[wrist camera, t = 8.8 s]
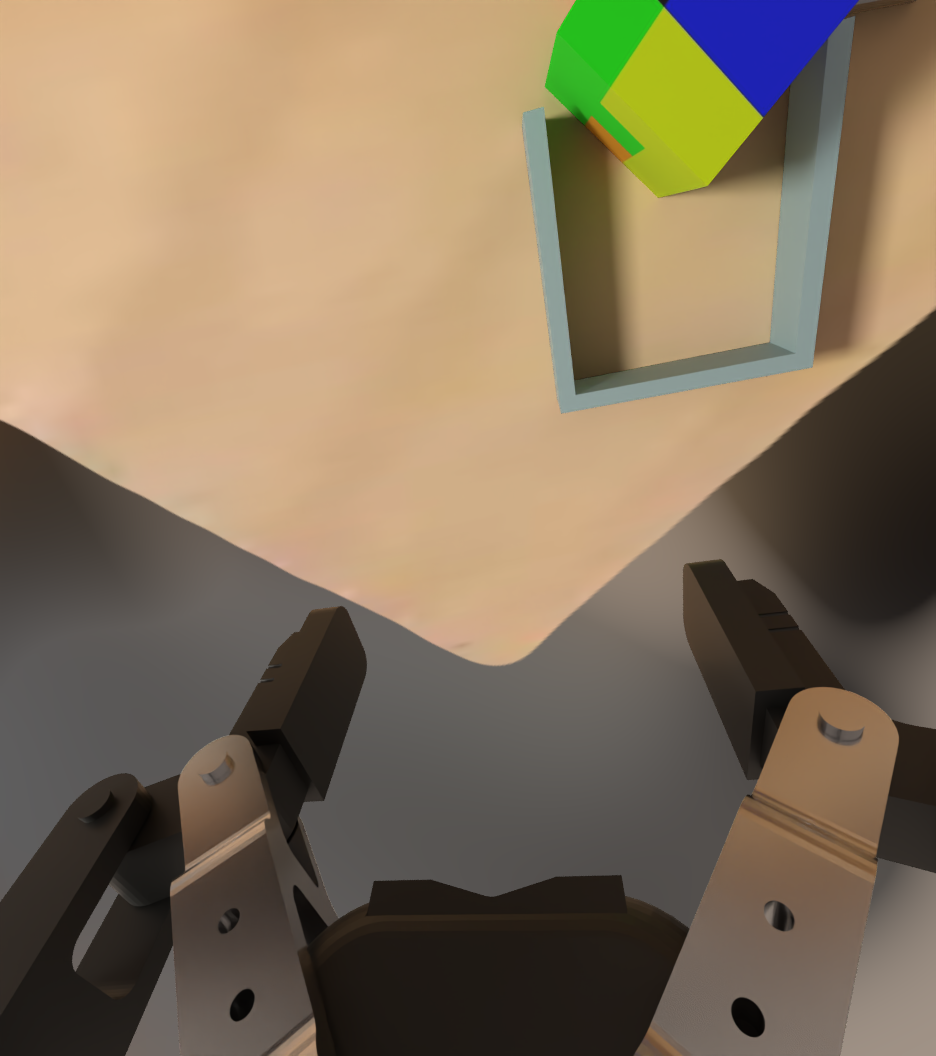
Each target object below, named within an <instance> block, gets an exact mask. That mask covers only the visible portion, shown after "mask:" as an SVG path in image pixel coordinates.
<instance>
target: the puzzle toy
mask: <svg viewBox="0 0 936 1056" xmlns="http://www.w3.org/2000/svg"><path fill="white" fill-rule="evenodd" d="M858 1H859V0H576V1H575V3H574V4H573V6H572V8H571V9H570V11H569V13H568V15H567V16H566V18H565V20H564V21H563V23H562V25H561V26H560V28H559V30H558V31H557V34H556V39H555V43H554V48H553V52H552V57H551V61H550V66H549V70H548V75H547V79H546V84H545V87H546V88H547V89H548V90H549V91H550V92H551V93H552V94H553V95H554V96H555V97H556V98H557V99H558V100H559V101H560V102H561V103H562V104H563V105H564V106H565V107H566V108H567V109H568V110H569V111H570V112H571V113H572V114H573V115H574V116H575V117H576V118H577V119H578V120H579V121H580V122H581V123H582V124H583V125H584V126H585V127H586V128H587V129H588V130H589V131H591V132H592V133H593V134H594V135H595V136H596V137H597V138H598V139H599V140H600V141H601V142H602V143H603V144H604V145H605V146H606V147H607V148H608V149H609V150H610V151H611V152H612V153H613V154H614V155H615V156H616V157H617V158H618V159H619V160H620V161H621V162H622V163H623V164H624V165H625V166H626V167H627V168H628V169H629V170H630V171H631V172H632V173H633V174H634V175H635V176H636V177H637V178H638V179H639V180H640V181H642V182H643V183H644V184H645V185H646V186H647V187H648V188H649V189H650V190H651V191H652V192H653V193H654V194H655V195H656V196H657V197H658V198H660V197H664V196H668V195H672V194H677V193H681V192H685V191H689V190H694V189H698V188H702V187H706V186H708V185H709V184H710V182H711V181H712V180H713V179H714V177H715V176H716V175H717V174H718V173H719V171H720V170H721V169H722V168H723V166H724V165H725V164H726V163H727V161H728V160H729V159H730V158H731V157H732V155H733V154H734V153H735V152H736V150H737V149H738V148H739V147H740V146H741V144H742V143H743V142H744V141H745V139H746V138H747V137H748V136H749V135H750V133H751V132H752V131H753V130H754V128H755V127H756V126H757V125H758V123H759V122H760V121H761V120H762V119H763V117H764V116H765V115H766V114H767V112H768V111H769V110H770V109H771V108H772V106H773V105H774V104H775V103H776V101H777V100H778V99H779V98H780V97H781V95H782V94H783V93H784V92H785V90H786V89H787V88H788V87H789V85H790V84H791V83H792V82H793V81H794V79H795V78H796V77H797V76H798V74H799V73H800V72H801V71H802V70H803V68H804V67H805V66H806V65H807V63H808V62H809V61H810V60H811V58H812V57H813V56H814V55H815V54H816V52H817V51H818V50H819V49H820V47H821V46H822V45H823V44H824V43H825V41H826V40H827V39H828V38H829V36H830V35H831V34H832V33H833V32H834V30H835V29H836V28H837V27H838V25H839V24H840V23H841V22H842V20H843V19H844V18H845V17H846V16H847V14H848V13H849V12H850V11H851V9H852V8H853V7H854V6H855V5H856V3H857V2H858Z"/></svg>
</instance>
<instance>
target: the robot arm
mask: <svg viewBox="0 0 936 1056" xmlns="http://www.w3.org/2000/svg"><path fill="white" fill-rule="evenodd" d="M683 619H684V627H685V632H686V636H687V640H688V643H689V646H690V648H691V650H692V653H693V655H694V657H695V660H696V662H697V664H698V667H699V669H700V671H701V674H702V676H703V678H704V681H705V683H706V685H707V688H708V690H709V692H710V695H711V697H712V699H713V702H714V704H715V706H716V709H717V711H718V713H719V716H720V718H721V720H722V723H723V725H724V727H725V730H726V732H727V734H728V737H729V739H730V741H731V744H732V746H733V749H734V751H735V753H736V755H737V758H738V760H739V763H740V765H741V767H742V769H743V772H744V774H745V777H746V778H747V780H754V779H758V782H757V784H756V787H755V789H754V791H753V793H752V795H751V796H750V795H747V796H746V797H745V798H744V800H743V802H742V804H741V806H740V808H739V810H738V813H737V815H736V817H735V820H734V822H733V825H732V827H731V830H730V832H729V834H728V837H727V839H726V842H725V844H724V847H723V849H722V852H721V854H720V857H719V859H718V862H717V864H716V866H715V869H714V871H713V874H712V876H711V878H710V881H709V883H708V886H707V888H706V891H705V893H704V896H703V898H702V900H701V903H700V905H699V908H698V910H697V913H696V915H695V917H694V920H693V922H692V925H691V927H690V929H689V928H688V927H687V926H685V925H684V924H682V923H681V922H680V921H678V920H677V919H676V918H674V917H673V916H671V915H669V914H668V913H666V912H664V911H662V910H661V909H659V908H657V907H655V906H653V905H650V904H648V903H646V902H643V901H641V900H638V899H634V898H631V897H627V896H625V894H624V888H623V882H622V876H621V875H612V876H572V877H570V876H569V877H554V878H551V879H549V880H545V881H542V882H539V883H536V884H533V885H530V886H527V887H524V888H521V889H517V890H514V891H511V892H508V893H505V894H502V895H499V896H495V897H488V896H484V895H480V894H477V893H473V892H470V891H467V890H463V889H460V888H457V887H453V886H450V885H447V884H443V883H440V882H436V881H433V880H398V881H374V883H373V888H372V893H371V897H370V902H369V903H367V904H364V905H362V906H360V907H358V908H356V909H354V910H352V911H350V912H349V913H347V914H346V915H344V916H342V917H341V918H338V916H337V914H336V913H335V911H334V909H333V907H332V904H331V902H330V900H329V898H328V895H327V892H326V890H325V886H324V884H323V881H322V878H321V875H320V872H319V869H318V866H317V863H316V860H315V857H314V854H313V851H312V848H311V845H310V842H309V840H308V837H307V834H306V831H305V828H304V825H303V822H302V820H301V818H300V817H299V813H300V811H301V808H302V805H303V803H304V802H310V801H324V799H325V796H326V793H327V790H328V787H329V784H330V781H331V778H332V775H333V772H334V769H335V766H336V763H337V760H338V757H339V754H340V751H341V748H342V745H343V742H344V739H345V736H346V733H347V730H348V727H349V724H350V721H351V718H352V715H353V712H354V709H355V706H356V703H357V700H358V697H359V694H360V691H361V688H362V685H363V682H364V679H365V676H366V669H367V661H366V654H365V651H364V648H363V646H362V644H361V642H360V639H359V637H358V634H357V632H356V630H355V627H354V625H353V623H352V621H351V618H350V616H349V613H348V611H347V610H346V609H345V608H344V607H342V606H340V607H331V608H323V609H315V610H312V611H311V612H310V613H309V615H308V617H307V619H306V621H305V622H304V624H303V626H302V628H301V630H300V632H294V633H293V634H292V635H291V636H290V637H289V638H288V639H287V640H286V641H285V642H284V643H283V644H282V645H281V646H280V647H279V648H278V649H277V651H276V653H275V655H274V656H273V658H272V660H271V662H270V664H269V665H268V666H269V668H268V669H266V671H265V672H264V674H263V676H262V678H261V683H258V685H257V686H256V688H255V690H254V692H253V694H252V696H251V697H250V699H249V701H248V702H247V704H246V706H245V708H244V709H243V711H242V713H241V715H240V717H239V718H238V720H237V722H236V724H235V725H234V727H233V729H232V731H231V732H230V734H229V736H225V737H222V738H219V739H217V740H215V741H213V742H211V743H209V744H208V745H206V746H205V747H203V748H202V749H201V750H200V751H198V752H197V753H196V754H195V755H194V756H193V757H192V758H191V759H190V761H189V762H188V763H187V764H186V766H185V767H184V769H183V771H182V773H181V774H180V775H177V776H174V777H171V778H169V779H166V780H163V781H160V782H158V783H155V784H152V785H150V786H147V787H143V786H142V785H141V783H140V782H139V781H138V780H137V779H136V778H135V777H134V776H133V775H131V774H127V773H125V774H117V775H113V776H111V777H108V778H106V779H104V780H102V781H100V782H98V783H97V784H95V785H93V786H92V787H91V788H89V789H88V790H87V791H85V792H84V793H83V794H82V795H81V796H80V797H78V799H76V801H75V802H73V804H72V805H71V806H70V807H69V808H68V810H67V811H66V812H65V814H64V815H63V816H62V818H61V819H60V821H59V822H58V823H57V825H56V826H55V827H54V829H53V830H52V831H51V833H50V834H49V836H48V837H47V838H46V840H45V841H44V843H43V844H42V845H41V847H40V848H39V849H38V851H37V852H36V854H35V855H34V856H33V858H32V859H31V860H30V862H29V863H28V865H27V866H26V867H25V869H24V870H23V872H22V873H21V874H20V876H19V877H18V879H17V880H16V881H15V883H14V884H13V885H12V887H11V888H10V890H9V891H8V892H7V894H6V895H5V896H4V898H3V899H2V901H1V902H0V1056H125V1054H126V1052H127V1050H128V1048H129V1045H130V1043H131V1041H132V1038H133V1036H134V1034H135V1031H136V1029H137V1027H138V1024H139V1022H140V1020H141V1018H142V1015H143V1013H144V1011H145V1008H146V1006H147V1004H148V1001H149V999H150V997H151V994H152V992H153V990H154V988H155V985H156V983H157V981H158V978H159V976H160V974H161V972H162V969H163V967H164V965H165V962H166V960H167V958H168V955H169V953H170V951H171V948H172V946H173V951H174V966H175V983H176V997H177V1014H178V1030H179V1046H180V1056H840V1054H841V1049H842V1043H843V1038H844V1033H845V1028H846V1023H847V1018H848V1013H849V1008H850V1003H851V998H852V993H853V988H854V983H855V978H856V973H857V967H858V962H859V958H860V952H861V948H862V942H863V937H864V932H865V927H866V922H867V917H868V912H869V907H870V902H871V897H872V892H873V887H874V881H875V876H876V871H877V862H878V859H877V858H876V857H878V858H882V859H885V860H889V861H893V862H896V863H900V864H904V865H908V866H911V867H915V868H919V869H923V870H927V871H930V872H934V873H936V729H931V728H925V727H919V726H914V725H909V724H904V723H901V722H898V721H894V720H891V719H890V717H889V716H888V715H887V714H886V713H885V712H884V711H883V710H882V709H880V708H879V707H878V706H877V705H875V704H874V703H872V702H871V701H869V700H867V699H865V698H863V697H861V696H859V695H857V694H854V693H851V692H849V691H846V690H845V689H844V688H843V687H842V685H841V684H840V683H839V681H838V680H837V678H836V677H835V676H834V675H833V673H832V672H831V670H830V669H829V667H828V666H827V665H826V663H825V662H824V661H823V659H822V658H821V657H820V655H819V654H818V652H817V651H816V650H815V648H814V647H813V645H812V644H811V643H810V641H809V640H808V639H807V637H806V636H805V634H804V633H803V632H802V630H799V628H798V625H797V624H796V622H795V621H794V619H793V618H792V617H791V615H788V611H787V610H786V608H785V607H784V605H783V604H782V603H781V601H780V600H779V599H778V598H777V596H776V594H775V593H773V592H772V591H770V590H769V589H767V588H766V587H764V586H762V585H761V584H759V583H758V582H756V581H755V580H753V579H751V580H741V581H736V579H735V577H734V576H733V574H732V573H731V571H730V570H729V568H728V567H727V565H726V563H725V562H724V561H723V560H721V559H719V560H711V561H703V562H695V563H687V564H685V565H684V569H683ZM108 885H110V886H111V887H112V888H113V889H114V890H115V891H116V892H117V893H119V894H118V896H117V897H116V899H115V901H114V903H113V905H112V907H111V908H110V910H109V912H108V914H107V916H106V917H105V919H104V921H103V923H102V925H101V927H100V928H99V930H98V932H97V934H96V935H95V937H94V939H93V941H92V943H91V945H90V946H89V948H88V950H87V952H86V954H85V955H84V957H83V959H82V961H81V963H80V965H79V966H78V968H77V970H76V972H75V971H74V969H73V965H72V955H73V950H74V946H75V944H76V941H77V939H78V937H79V935H80V933H81V932H82V930H83V928H84V926H85V925H86V923H87V921H88V919H89V918H90V916H91V914H92V912H93V911H94V909H95V907H96V906H97V904H98V902H99V900H100V899H101V897H102V895H103V893H104V891H105V890H106V888H107V886H108Z"/></svg>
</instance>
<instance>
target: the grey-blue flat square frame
mask: <svg viewBox="0 0 936 1056" xmlns="http://www.w3.org/2000/svg"><path fill="white" fill-rule="evenodd" d="M854 23H855V16H853V17H850V18H846V19H843V20H842V22H841V23H840V24H839V25H838V27H837V28H836V29H835V30H834V32H833V33H832V34H831V35H830V36H829V38H828V39H827V40H826V41H825V43H824V44H823V45H822V46H821V47H820V49H819V50H818V51H817V52H816V54H815V55H814V56H813V57H812V58H811V60H810V61H809V62H808V63H807V65H806V66H805V67H804V68H803V70H802V71H801V72H800V73H799V74H798V76H797V77H796V78H795V79H794V81H793V82H792V83H791V84H790V94H789V106H788V119H787V132H786V144H785V157H784V170H783V182H782V195H781V208H780V220H779V233H778V246H777V258H776V271H775V284H774V296H773V309H772V322H771V334H770V343H765V344H760V345H754V346H749V347H744V348H739V349H734V350H729V351H724V352H718V353H713V354H708V355H703V356H698V357H693V358H688V359H682V360H677V361H672V362H667V363H662V364H657V365H651V366H646V367H641V368H636V369H631V370H626V371H621V372H615V373H610V374H605V375H600V376H595V377H590V378H585V379H579V380H574V376H573V367H572V358H571V349H570V340H569V331H568V322H567V313H566V304H565V295H564V286H563V276H562V267H561V258H560V249H559V240H558V231H557V222H556V213H555V204H554V195H553V186H552V177H551V168H550V159H549V150H548V140H547V131H546V122H545V113H544V107H541V108H538V109H534V110H531V111H527V112H524V113H523V120H522V129H523V137H524V145H525V153H526V160H527V168H528V176H529V184H530V191H531V199H532V207H533V215H534V222H535V230H536V238H537V246H538V253H539V261H540V269H541V277H542V284H543V292H544V300H545V308H546V315H547V323H548V331H549V339H550V346H551V354H552V362H553V370H554V377H555V385H556V393H557V400H558V403H559V407H560V411H561V414H562V413H567V412H573V411H578V410H583V409H589V408H594V407H600V406H605V405H611V404H616V403H622V402H627V401H632V400H638V399H643V398H649V397H654V396H660V395H665V394H671V393H676V392H681V391H687V390H692V389H698V388H703V387H709V386H714V385H720V384H725V383H730V382H736V381H741V380H747V379H752V378H758V377H763V376H769V375H774V374H779V373H785V372H790V371H796V370H801V369H807V368H812V367H813V359H814V351H815V343H816V334H817V326H818V318H819V310H820V302H821V293H822V285H823V277H824V269H825V261H826V252H827V244H828V236H829V228H830V220H831V211H832V203H833V195H834V187H835V179H836V170H837V162H838V154H839V146H840V138H841V129H842V121H843V113H844V105H845V97H846V89H847V80H848V72H849V64H850V56H851V48H852V39H853V31H854Z"/></svg>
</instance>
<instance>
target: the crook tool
mask: <svg viewBox="0 0 936 1056" xmlns="http://www.w3.org/2000/svg"><path fill="white" fill-rule="evenodd" d="M914 1H916V0H859V1H858V2H857V3H856V5H855V6H854V7H853V8H852V9H851V11H850V12H849V13H848V14H851V13H857V12H862V11H867V10H873V9H878V8H883V7H889V6H894V5H899V4H904V3H910V2H914Z"/></svg>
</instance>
